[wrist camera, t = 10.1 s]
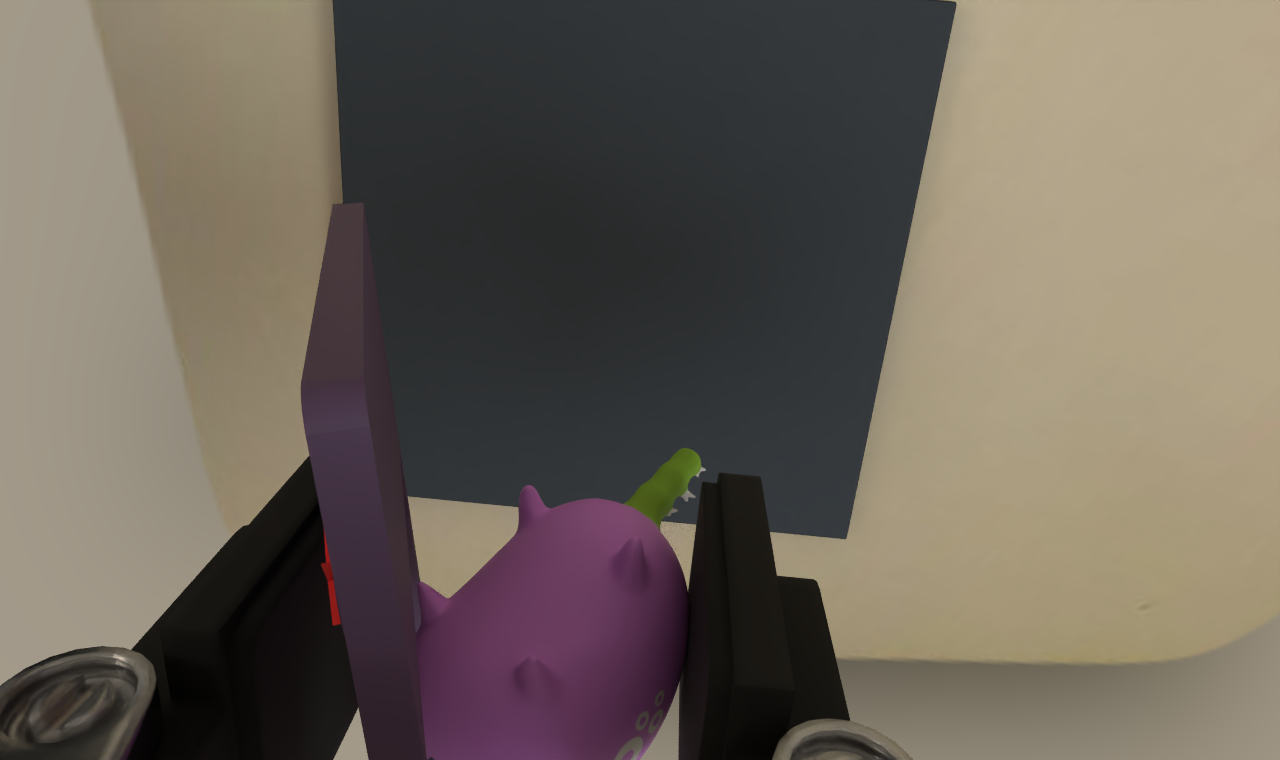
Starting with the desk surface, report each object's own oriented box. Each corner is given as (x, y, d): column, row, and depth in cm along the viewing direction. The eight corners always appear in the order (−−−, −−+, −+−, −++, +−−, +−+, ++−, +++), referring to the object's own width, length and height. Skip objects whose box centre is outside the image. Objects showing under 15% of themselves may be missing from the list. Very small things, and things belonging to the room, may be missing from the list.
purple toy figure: (158, 415, 5) (382, 1264, 8) (954, 312, 6) (864, 1080, 10) (271, 205, 11) (374, 748, 14) (663, 176, 12) (671, 679, 16)
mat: (362, 484, 28) (357, 492, 28) (336, -53, 22) (329, -54, 22) (844, 531, 28) (846, 540, 28) (951, 2, 22) (957, 1, 22)
